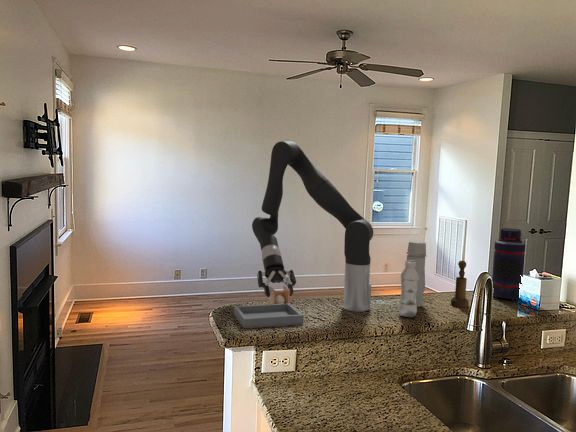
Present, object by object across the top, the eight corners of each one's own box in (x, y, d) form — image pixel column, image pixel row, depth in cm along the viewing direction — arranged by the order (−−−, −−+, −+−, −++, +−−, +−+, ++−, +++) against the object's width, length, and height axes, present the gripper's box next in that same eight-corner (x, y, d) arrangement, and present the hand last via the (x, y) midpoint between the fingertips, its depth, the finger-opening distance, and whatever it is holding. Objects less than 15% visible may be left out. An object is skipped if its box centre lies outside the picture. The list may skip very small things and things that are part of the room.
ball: (281, 306, 174) (283, 296, 175) (285, 307, 170) (287, 296, 171) (271, 305, 172) (273, 294, 173) (275, 305, 169) (277, 294, 170)
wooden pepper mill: (470, 305, 185) (473, 260, 184) (466, 308, 180) (469, 262, 178) (452, 302, 189) (455, 258, 187) (449, 305, 183) (451, 260, 182)
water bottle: (413, 309, 176) (417, 243, 174) (399, 303, 183) (402, 241, 181) (430, 306, 181) (434, 243, 179) (416, 301, 188) (419, 240, 186)
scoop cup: (283, 305, 175) (284, 285, 174) (289, 309, 169) (289, 289, 169) (268, 306, 173) (269, 286, 173) (273, 310, 167) (274, 290, 167)
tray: (288, 311, 167) (288, 303, 166) (303, 324, 153) (303, 315, 152) (233, 314, 160) (234, 306, 160) (244, 328, 146) (244, 319, 146)
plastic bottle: (414, 314, 169) (418, 260, 167) (418, 319, 162) (421, 263, 161) (396, 313, 170) (399, 259, 168) (399, 318, 163) (402, 262, 161)
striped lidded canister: (520, 303, 191) (525, 231, 189) (489, 298, 197) (494, 228, 195) (522, 296, 203) (527, 228, 201) (493, 292, 209) (497, 226, 207)
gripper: (256, 253, 175) (263, 291, 165) (292, 253, 179) (301, 289, 169) (252, 265, 180) (259, 301, 170) (287, 264, 185) (295, 300, 175)
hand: (280, 295), depth 170 cm, fingers open, 8 cm apart
